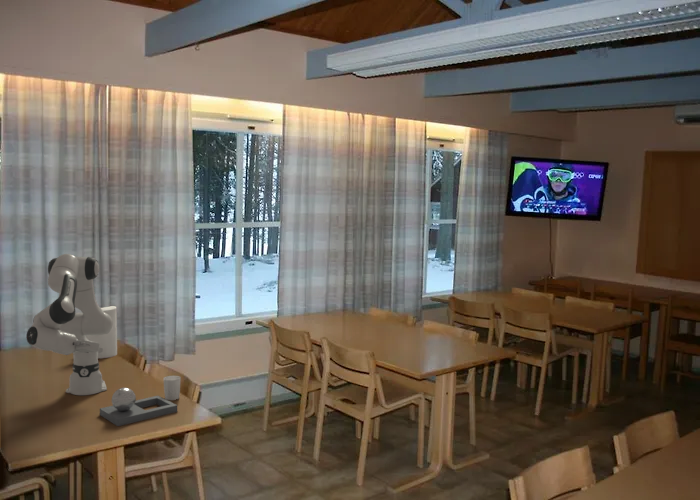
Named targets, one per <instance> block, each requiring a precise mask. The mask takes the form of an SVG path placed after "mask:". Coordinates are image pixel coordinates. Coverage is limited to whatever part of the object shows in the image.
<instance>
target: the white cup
mask: <svg viewBox="0 0 700 500" xmlns="http://www.w3.org/2000/svg"><path fill="white" fill-rule="evenodd" d="M163 391H164V399H166V400H168V401H176V399H177V400H179V399H180V394H181V393H180V392H181V376H179V375H167V376H165V377H163Z"/></svg>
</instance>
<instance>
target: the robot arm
mask: <svg viewBox="0 0 700 500" xmlns="http://www.w3.org/2000/svg"><path fill="white" fill-rule="evenodd" d="M99 271H100V265H99V261H98V260H97V258H95V257H92V256H75V255H73V254H70V253H63V254H61V255H59V256H58V257H53V258H52V259H51V260H50V261H49V262H48V265H47V273H48V278H47V284H48V286H49V288H50V289H51V290H52V291H54V292H55V293H58V297H57V298H56V299H54V301H53V302H51V304H49V305H48V306H46V307H45V308H43V309H42V310H41V311H39V312H38V313H37V314H35V315H34V317H33V320H32V321H33V323H32V325H31V326H30V327H29V328H28V329H27V331H26V341H27V343H28V344H29V345H30V346H31V347H33V348H35V349H39V350H43V351H48V352H50V351H51V352H52V353H56V354H60V355H65V356H70V355H71V354H72V355H73V363H72V373H71V374H70V375H69V387H68V388H67V389H66V390H65V393H67V394H71V395H74V396H75V395H76V396H91V395H95V394H98V393H102V392H104V391H107V384H106V381H105V380H104V379H103V373H102V372H101V371H100V362H99V360H98V359H99V358H98V352H103V348H100V344H99V343H96V342H91V341H89V340H88V339H87V338H86V335H103V334H108V333H109V332H110V331H111V329H112V326H113V321H112V318H111V317H110V316H109V315H108V314H107V313H105V312H104V311H103V310H102V309H101V308H102V307H100V305H99V304H98V301H97V299H96V295H95V294H96V293H95V287H94V279H96V277H98V275H99ZM76 309H77V310H79V311H80V312H76Z"/></svg>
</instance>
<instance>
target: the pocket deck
mask: <svg viewBox="0 0 700 500" xmlns="http://www.w3.org/2000/svg"><path fill="white" fill-rule="evenodd" d="M156 405H158V407H154V408H149V409H146V410H145V409H144V408H146V407H151V406H156ZM177 412H178V404H176V403H173V402H172V401H171V400H166V399H165V397H161V396H160V395H154V396H149V397H146V398H141V399H136V401H135V404H134V405H133V407H132V408H130V409H129V410H126V411H120V410H117V409H116V408H115V407H114V406H113V405H109V406H106V407H105V406H104V407H101V408H99V416H100V417H102V418H104V419H105V420H107V421H109V422H110V423H112V424H113V425H115V426H117V427H121V426H125V425H129V424H133V423H137V422H141V421H145V420H150V419H154V418H157V417H162V416H166V415H170V414H174V413H177Z"/></svg>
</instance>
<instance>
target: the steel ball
mask: <svg viewBox="0 0 700 500" xmlns="http://www.w3.org/2000/svg"><path fill="white" fill-rule="evenodd" d="M136 400H137V398H136V394H135V392H134V391H133V389H131V388H128V387H121V388H118V389H116V390H115V391H114V392H113V394H112V397H111V404H112V406H114V407H115V408H116V409H117V410H120V411H126V410H129V409H130V408H132V407H133V405H134V404H135V401H136Z"/></svg>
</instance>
